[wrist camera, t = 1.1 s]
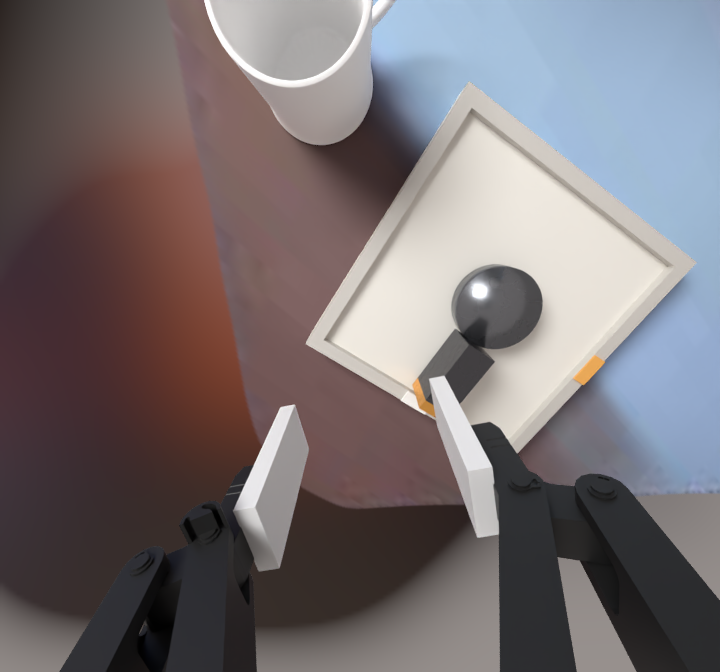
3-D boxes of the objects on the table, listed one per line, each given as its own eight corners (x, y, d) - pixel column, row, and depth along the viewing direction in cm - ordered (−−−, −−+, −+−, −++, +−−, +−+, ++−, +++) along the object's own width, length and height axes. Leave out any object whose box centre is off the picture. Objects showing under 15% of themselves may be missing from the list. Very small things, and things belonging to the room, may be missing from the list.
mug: (379, -33, 25) (391, -250, 13) (427, 89, 27) (472, -9, 16) (245, 59, 27) (156, -64, 15) (301, 165, 29) (260, 127, 18)
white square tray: (459, 95, 27) (469, 80, 24) (668, 259, 31) (699, 262, 28) (310, 334, 34) (305, 344, 31) (498, 445, 38) (509, 464, 35)
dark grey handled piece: (485, 247, 29) (505, 251, 24) (548, 292, 30) (578, 303, 25) (393, 373, 32) (397, 395, 28) (452, 408, 33) (464, 435, 29)
